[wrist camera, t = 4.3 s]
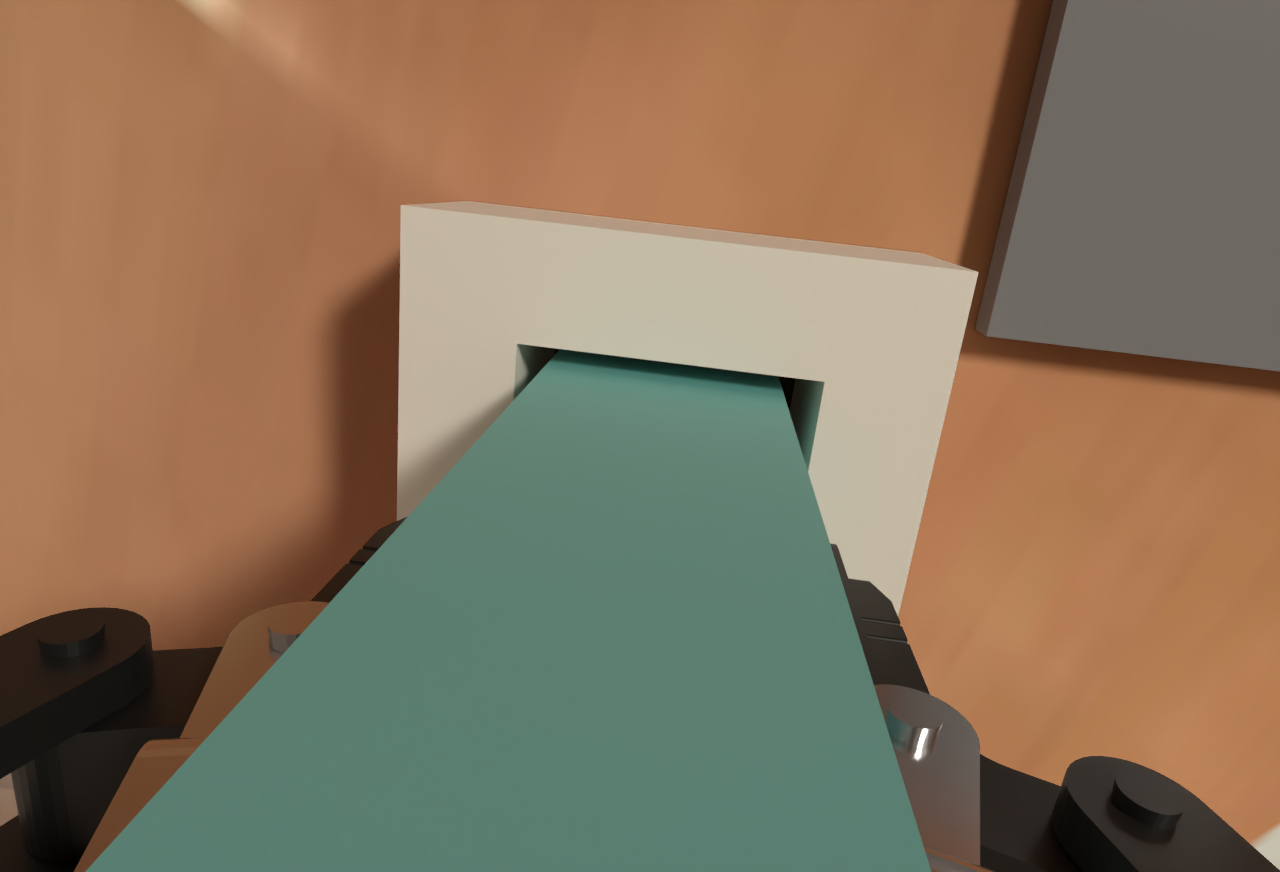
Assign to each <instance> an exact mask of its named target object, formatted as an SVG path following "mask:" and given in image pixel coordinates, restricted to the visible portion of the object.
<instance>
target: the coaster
mask: <svg viewBox="0 0 1280 872" xmlns="http://www.w3.org/2000/svg"><path fill="white" fill-rule="evenodd" d="M975 330H976V331H978V332H980V333H981V334H983V335H985V336H988V337H996V338H1005V339H1013V340H1021V341H1030V342H1038V343H1046V344H1055V345H1063V346H1071V347H1080V348H1088V349H1096V350H1105V351H1113V352H1122V353H1130V354H1138V355H1147V356H1155V357H1163V358H1172V359H1180V360H1188V361H1197V362H1205V363H1213V364H1222V365H1230V366H1238V367H1247V368H1255V369H1263V370H1272V371H1280V0H1053V3H1052V7H1051V12H1050V16H1049V20H1048V24H1047V28H1046V33H1045V37H1044V41H1043V45H1042V49H1041V54H1040V58H1039V62H1038V66H1037V70H1036V75H1035V79H1034V83H1033V87H1032V91H1031V96H1030V100H1029V104H1028V108H1027V112H1026V117H1025V121H1024V125H1023V129H1022V133H1021V138H1020V142H1019V146H1018V150H1017V154H1016V159H1015V163H1014V167H1013V171H1012V175H1011V180H1010V184H1009V188H1008V192H1007V196H1006V201H1005V205H1004V209H1003V213H1002V217H1001V222H1000V226H999V230H998V234H997V239H996V243H995V247H994V251H993V255H992V260H991V264H990V268H989V272H988V276H987V281H986V285H985V289H984V293H983V297H982V302H981V306H980V310H979V314H978V318H977V323H976V327H975Z"/></svg>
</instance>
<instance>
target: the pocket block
mask: <svg viewBox="0 0 1280 872" xmlns="http://www.w3.org/2000/svg"><path fill="white" fill-rule="evenodd" d="M978 273H979V272H977V271H974V270H971V269H968V268H965V267H962V266H959V265H956V264H953V263H950V262H947V261H944V260H941V259H938V258H935V257H931V256H928V255H925V254H922V253H917V252H908V251H899V250H890V249H882V248H873V247H864V246H855V245H847V244H838V243H829V242H821V241H812V240H803V239H794V238H786V237H777V236H768V235H760V234H751V233H742V232H733V231H725V230H716V229H707V228H698V227H690V226H681V225H672V224H664V223H655V222H646V221H637V220H629V219H620V218H611V217H603V216H594V215H585V214H576V213H568V212H559V211H550V210H542V209H533V208H524V207H515V206H507V205H498V204H489V203H480V202H472V201H462V202H446V203H429V204H413V205H401V236H400V313H399V390H398V468H397V521H398V520H400V519H403V518H405V517H408V516H409V515H410V514H411V513H412V512H413V511H414V509H415V508H416V507H417V506H418V505H419V504H420V503H421V502H422V501H423V500H424V498H425V497H426V496H427V495H428V494H429V493H430V492H431V491H432V490H433V489H434V487H435V486H436V485H437V484H438V483H439V482H440V481H441V480H442V479H443V478H444V476H445V475H446V474H447V473H448V472H449V471H450V470H451V469H452V468H453V467H454V465H455V464H456V463H457V462H458V461H459V460H460V459H461V458H462V457H463V456H464V454H465V453H466V452H467V451H468V450H469V449H470V448H471V447H472V446H473V445H474V443H475V442H476V441H477V440H478V439H479V438H480V437H481V436H482V435H483V434H484V432H485V431H486V430H487V429H488V428H489V427H490V426H491V425H492V424H493V423H494V421H495V420H496V419H497V418H498V417H499V416H500V415H501V414H502V413H503V412H504V410H505V409H506V408H507V407H508V406H509V405H510V404H511V403H512V402H513V401H514V399H515V398H516V397H517V396H518V395H519V394H520V393H521V392H522V391H523V390H524V388H525V387H526V386H527V385H528V384H529V383H530V382H531V381H532V380H533V379H534V377H535V376H536V375H537V374H538V373H539V372H540V371H541V370H542V369H543V368H544V366H545V365H546V364H547V363H548V362H549V361H550V360H551V359H552V358H553V357H554V355H555V348H556V349H564V350H572V351H580V352H588V353H596V354H604V355H612V356H620V357H628V358H636V359H645V360H653V361H661V362H669V363H677V364H685V365H693V366H701V367H709V368H717V369H725V370H733V371H741V372H749V373H757V374H765V375H773V376H781V377H789V378H795V383H794V389H793V395H792V401H791V407H790V415H791V419H792V422H793V425H794V428H795V432H796V435H797V438H798V441H799V445H800V448H801V451H802V454H803V458H804V461H805V464H806V467H807V471H808V474H809V477H810V480H811V483H812V487H813V490H814V493H815V496H816V500H817V503H818V506H819V509H820V513H821V516H822V519H823V522H824V526H825V529H826V532H827V535H828V538H829V542H830V543H831V544H836V545H837V546H838V549H839V552H840V555H841V558H842V561H843V564H844V567H845V570H846V573H847V576H848V578H849V579H856V580H863V581H870V582H871V583H872V584H873V585H874V586H875V587H876V588H877V589H879V590H880V591H881V592H882V593H883V594H884V595H885V596H886V597H887V598H888V599H889V600H891V601H892V604H893V606H894V609H895V611H896V613H897V616H898V614H899V610H900V606H901V602H902V597H903V593H904V589H905V585H906V580H907V576H908V572H909V568H910V563H911V559H912V555H913V550H914V546H915V542H916V538H917V533H918V529H919V525H920V521H921V516H922V512H923V508H924V503H925V499H926V495H927V491H928V486H929V482H930V478H931V474H932V469H933V465H934V461H935V456H936V452H937V448H938V444H939V439H940V435H941V431H942V427H943V422H944V418H945V414H946V409H947V405H948V401H949V397H950V392H951V388H952V384H953V380H954V375H955V371H956V367H957V363H958V358H959V354H960V350H961V345H962V341H963V337H964V333H965V328H966V324H967V320H968V316H969V311H970V307H971V303H972V298H973V294H974V290H975V286H976V281H977V277H978Z"/></svg>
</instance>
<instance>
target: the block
mask: <svg viewBox="0 0 1280 872" xmlns="http://www.w3.org/2000/svg"><path fill="white" fill-rule="evenodd" d="M85 872H931V869H930V865H929V862H928V859H927V856H926V852H925V849H924V846H923V843H922V839H921V836H920V833H919V830H918V827H917V823H916V820H915V817H914V814H913V810H912V807H911V804H910V801H909V797H908V794H907V791H906V788H905V784H904V781H903V778H902V775H901V772H900V768H899V765H898V762H897V759H896V755H895V752H894V749H893V746H892V742H891V739H890V736H889V733H888V729H887V726H886V723H885V720H884V717H883V713H882V710H881V707H880V704H879V700H878V697H877V694H876V691H875V687H874V684H873V681H872V678H871V674H870V671H869V668H868V665H867V661H866V658H865V655H864V652H863V649H862V645H861V642H860V639H859V636H858V632H857V629H856V626H855V623H854V619H853V616H852V613H851V610H850V606H849V603H848V600H847V597H846V594H845V590H844V587H843V584H842V581H841V577H840V574H839V571H838V568H837V564H836V561H835V558H834V555H833V551H832V548H831V545H830V542H829V538H828V535H827V532H826V529H825V526H824V522H823V519H822V516H821V513H820V509H819V506H818V503H817V500H816V496H815V493H814V490H813V487H812V483H811V480H810V477H809V474H808V471H807V467H806V464H805V461H804V458H803V454H802V451H801V448H800V445H799V441H798V438H797V435H796V432H795V428H794V425H793V422H792V419H791V415H790V412H789V409H788V406H787V403H786V399H785V396H784V393H783V390H782V386H781V383H780V380H779V377H777V376H769V375H761V374H753V373H745V372H738V371H730V370H722V369H714V368H706V367H698V366H690V365H682V364H674V363H666V362H658V361H650V360H643V359H635V358H627V357H619V356H611V355H603V354H595V353H587V352H579V351H571V350H563V349H560V350H559V351H558V352H557V353H556V354H555V355H554V357H553V358H552V359H551V360H550V361H549V362H548V363H547V364H546V365H545V366H544V368H543V369H542V370H541V371H540V372H539V373H538V374H537V375H536V376H535V377H534V379H533V380H532V381H531V382H530V383H529V384H528V385H527V386H526V387H525V388H524V390H523V391H522V392H521V393H520V394H519V395H518V396H517V397H516V398H515V399H514V401H513V402H512V403H511V404H510V405H509V406H508V407H507V408H506V409H505V410H504V412H503V413H502V414H501V415H500V416H499V417H498V418H497V419H496V420H495V421H494V423H493V424H492V425H491V426H490V427H489V428H488V429H487V430H486V431H485V432H484V434H483V435H482V436H481V437H480V438H479V439H478V440H477V441H476V442H475V443H474V445H473V446H472V447H471V448H470V449H469V450H468V451H467V452H466V453H465V454H464V456H463V457H462V458H461V459H460V460H459V461H458V462H457V463H456V464H455V465H454V467H453V468H452V469H451V470H450V471H449V472H448V473H447V474H446V475H445V476H444V478H443V479H442V480H441V481H440V482H439V483H438V484H437V485H436V486H435V487H434V489H433V490H432V491H431V492H430V493H429V494H428V495H427V496H426V497H425V498H424V500H423V501H422V502H421V503H420V504H419V505H418V506H417V507H416V508H415V509H414V511H413V512H412V513H411V514H410V515H409V516H408V517H407V518H406V519H405V520H404V522H403V523H402V524H401V525H400V526H399V527H398V528H397V529H396V530H395V531H394V533H393V534H392V535H391V536H390V537H389V538H388V539H387V540H386V541H385V542H384V544H383V545H382V546H381V547H380V548H379V549H378V550H377V551H376V552H375V553H374V555H373V556H372V557H371V558H370V559H369V560H368V561H367V562H366V563H365V564H364V566H363V567H362V568H361V569H360V570H359V571H358V572H357V573H356V574H355V575H354V577H353V578H352V579H351V580H350V581H349V582H348V583H347V584H346V585H345V586H344V588H343V589H342V590H341V591H340V592H339V593H338V594H337V595H336V596H335V597H334V599H333V600H332V601H331V602H330V603H329V604H328V605H327V606H326V607H325V608H324V610H323V611H322V612H321V613H320V614H319V615H318V616H317V617H316V618H315V619H314V621H313V622H312V623H311V624H310V625H309V626H308V627H307V628H306V629H305V630H304V632H303V633H302V634H301V635H300V636H299V637H298V638H297V639H296V640H295V641H294V643H293V644H292V645H291V646H290V647H289V648H288V649H287V650H286V651H285V652H284V654H283V655H282V656H281V657H280V658H279V659H278V660H277V661H276V662H275V663H274V665H273V666H272V667H271V668H270V669H269V670H268V671H267V672H266V673H265V674H264V676H263V677H262V678H261V679H260V680H259V681H258V682H257V683H256V684H255V685H254V687H253V688H252V689H251V690H250V691H249V692H248V693H247V694H246V695H245V696H244V698H243V699H242V700H241V701H240V702H239V703H238V704H237V705H236V706H235V707H234V709H233V710H232V711H231V712H230V713H229V714H228V715H227V716H226V717H225V718H224V720H223V721H222V722H221V723H220V724H219V725H218V726H217V727H216V728H215V729H214V731H213V732H212V733H211V734H210V735H209V736H208V737H207V738H206V739H205V740H204V742H203V743H202V744H201V745H200V746H199V747H198V748H197V749H196V750H195V751H194V753H193V754H192V755H191V756H190V757H189V758H188V759H187V760H186V761H185V762H184V764H183V765H182V766H181V767H180V768H179V769H178V770H177V771H176V772H175V773H174V775H173V776H172V777H171V778H170V779H169V780H168V781H167V782H166V783H165V784H164V786H163V787H162V788H161V789H160V790H159V791H158V792H157V793H156V794H155V795H154V797H153V798H152V799H151V800H150V801H149V802H148V803H147V804H146V805H145V806H144V808H143V809H142V810H141V811H140V812H139V813H138V814H137V815H136V816H135V817H134V819H133V820H132V821H131V822H130V823H129V824H128V825H127V826H126V827H125V828H124V830H123V831H122V832H121V833H120V834H119V835H118V836H117V837H116V838H115V839H114V841H113V842H112V843H111V844H110V845H109V846H108V847H107V848H106V849H105V850H104V852H103V853H102V854H101V855H100V856H99V857H98V858H97V859H96V860H95V861H94V863H93V864H92V865H91V866H90V867H89V868H88V869H87V870H86V871H85Z"/></svg>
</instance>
